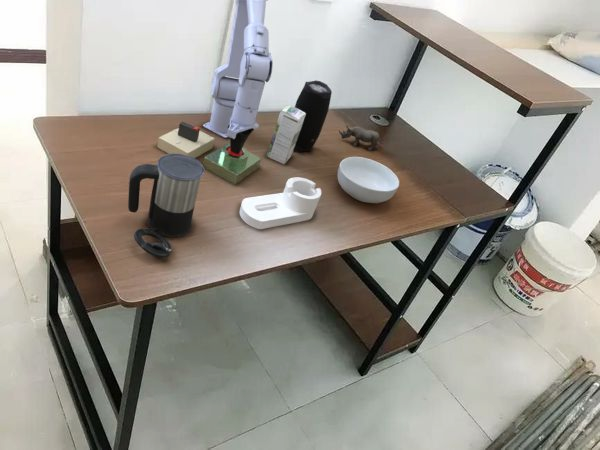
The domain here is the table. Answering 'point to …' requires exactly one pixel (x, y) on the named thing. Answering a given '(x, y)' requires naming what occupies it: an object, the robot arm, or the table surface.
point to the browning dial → (188, 131)
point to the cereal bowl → (367, 180)
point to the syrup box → (286, 134)
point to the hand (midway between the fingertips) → (235, 151)
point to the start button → (234, 153)
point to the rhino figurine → (361, 136)
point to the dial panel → (185, 144)
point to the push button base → (231, 164)
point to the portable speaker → (312, 113)
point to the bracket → (282, 205)
